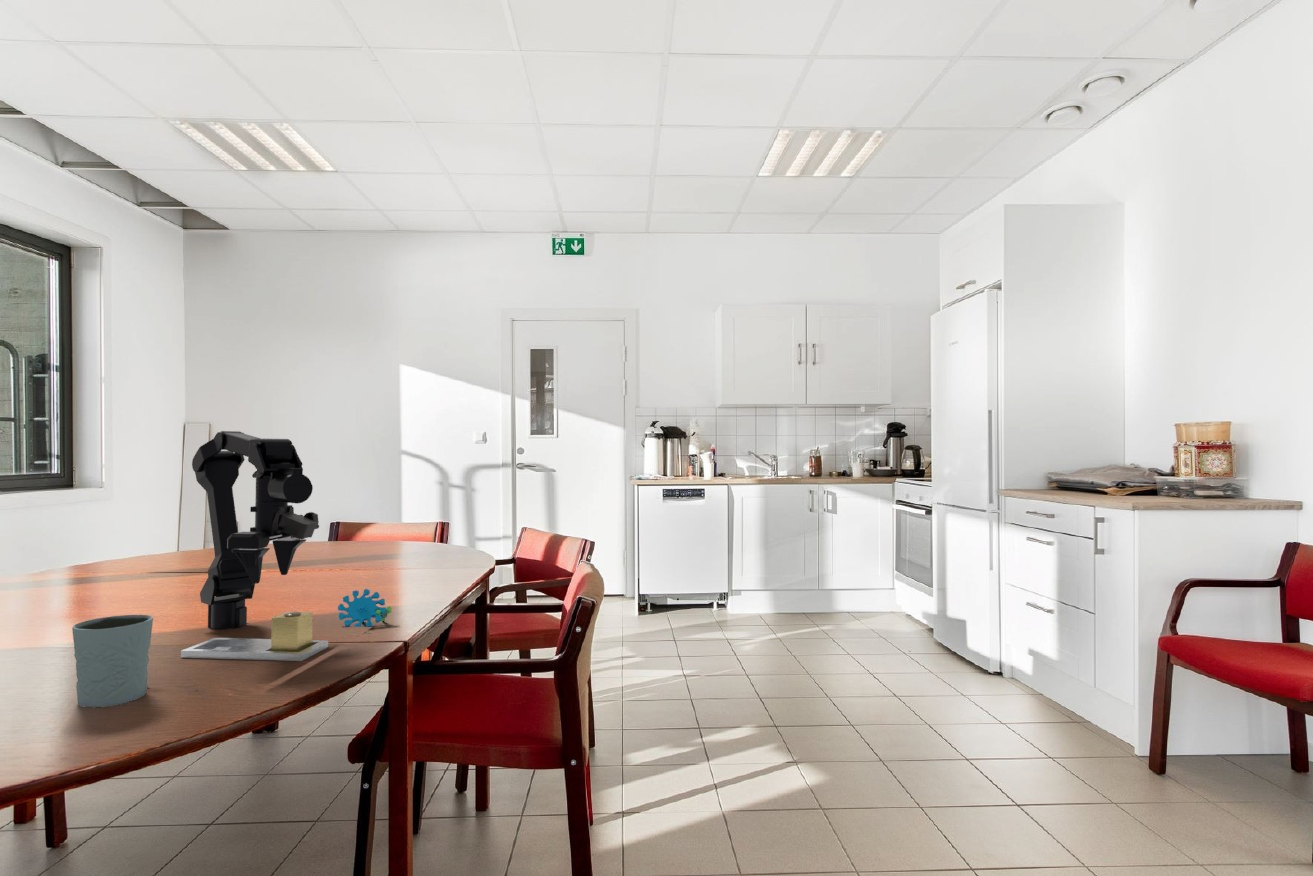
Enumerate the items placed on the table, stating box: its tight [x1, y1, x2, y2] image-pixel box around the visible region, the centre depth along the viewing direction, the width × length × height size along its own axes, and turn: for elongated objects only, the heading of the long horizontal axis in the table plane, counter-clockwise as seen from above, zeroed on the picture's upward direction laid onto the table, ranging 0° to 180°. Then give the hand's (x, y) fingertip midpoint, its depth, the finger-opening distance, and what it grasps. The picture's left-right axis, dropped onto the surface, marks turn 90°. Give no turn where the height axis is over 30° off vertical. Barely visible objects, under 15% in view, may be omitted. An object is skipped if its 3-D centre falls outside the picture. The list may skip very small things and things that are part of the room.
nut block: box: [270, 611, 314, 652], centre depth 133 cm, size 5×5×7 cm
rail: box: [180, 637, 329, 662], centre depth 134 cm, size 23×9×2 cm, turn 86°
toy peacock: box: [337, 588, 392, 628], centre depth 158 cm, size 11×6×10 cm
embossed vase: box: [71, 614, 154, 708], centre depth 111 cm, size 10×10×12 cm
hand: (270, 579), depth 142 cm, fingers open, 9 cm apart
